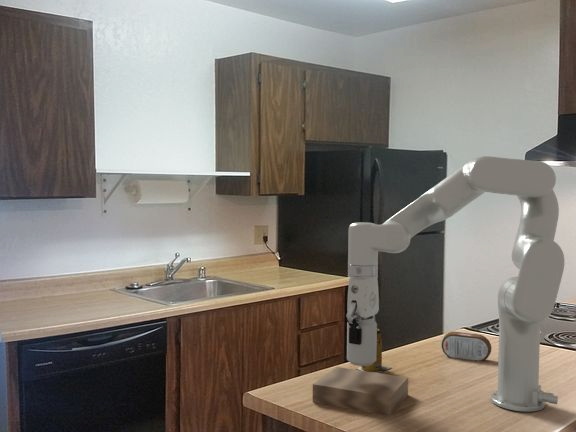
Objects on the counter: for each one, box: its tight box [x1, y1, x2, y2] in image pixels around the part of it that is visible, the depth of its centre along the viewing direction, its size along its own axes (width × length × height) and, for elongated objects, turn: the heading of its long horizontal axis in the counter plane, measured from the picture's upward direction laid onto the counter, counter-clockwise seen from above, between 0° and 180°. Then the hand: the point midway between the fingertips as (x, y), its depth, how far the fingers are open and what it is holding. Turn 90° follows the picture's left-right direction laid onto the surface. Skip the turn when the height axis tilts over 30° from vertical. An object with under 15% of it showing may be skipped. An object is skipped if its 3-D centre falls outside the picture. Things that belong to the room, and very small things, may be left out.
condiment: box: [355, 328, 392, 373], centre depth 178 cm, size 7×8×12 cm
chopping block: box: [312, 366, 409, 417], centre depth 153 cm, size 20×16×5 cm
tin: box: [441, 331, 492, 362], centre depth 188 cm, size 15×3×8 cm, turn 65°
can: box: [346, 314, 378, 367], centre depth 153 cm, size 8×8×12 cm
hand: (361, 339), depth 153 cm, fingers closed on can, 7 cm apart
